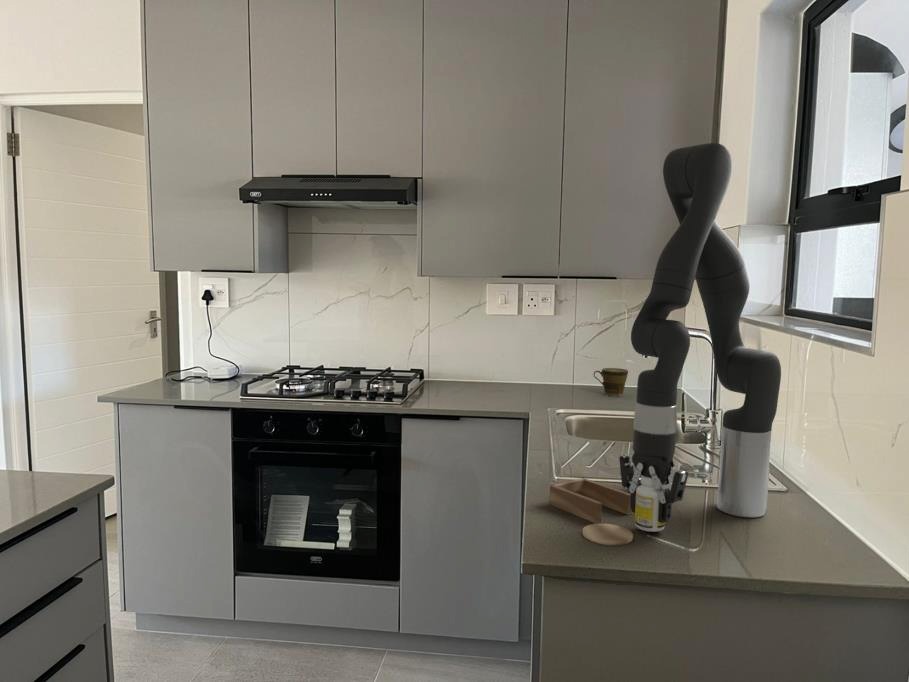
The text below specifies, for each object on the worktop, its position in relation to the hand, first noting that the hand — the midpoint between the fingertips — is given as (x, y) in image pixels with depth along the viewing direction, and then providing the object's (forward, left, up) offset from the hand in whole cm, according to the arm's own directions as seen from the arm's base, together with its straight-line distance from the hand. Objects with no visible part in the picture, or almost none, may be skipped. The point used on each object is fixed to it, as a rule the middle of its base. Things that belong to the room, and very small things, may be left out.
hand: (649, 516), depth 131 cm
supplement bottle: (0, 0, -2) cm, 2 cm away
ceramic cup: (-105, -99, -3) cm, 144 cm away
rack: (0, -15, -3) cm, 15 cm away
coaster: (+8, -3, -3) cm, 9 cm away
